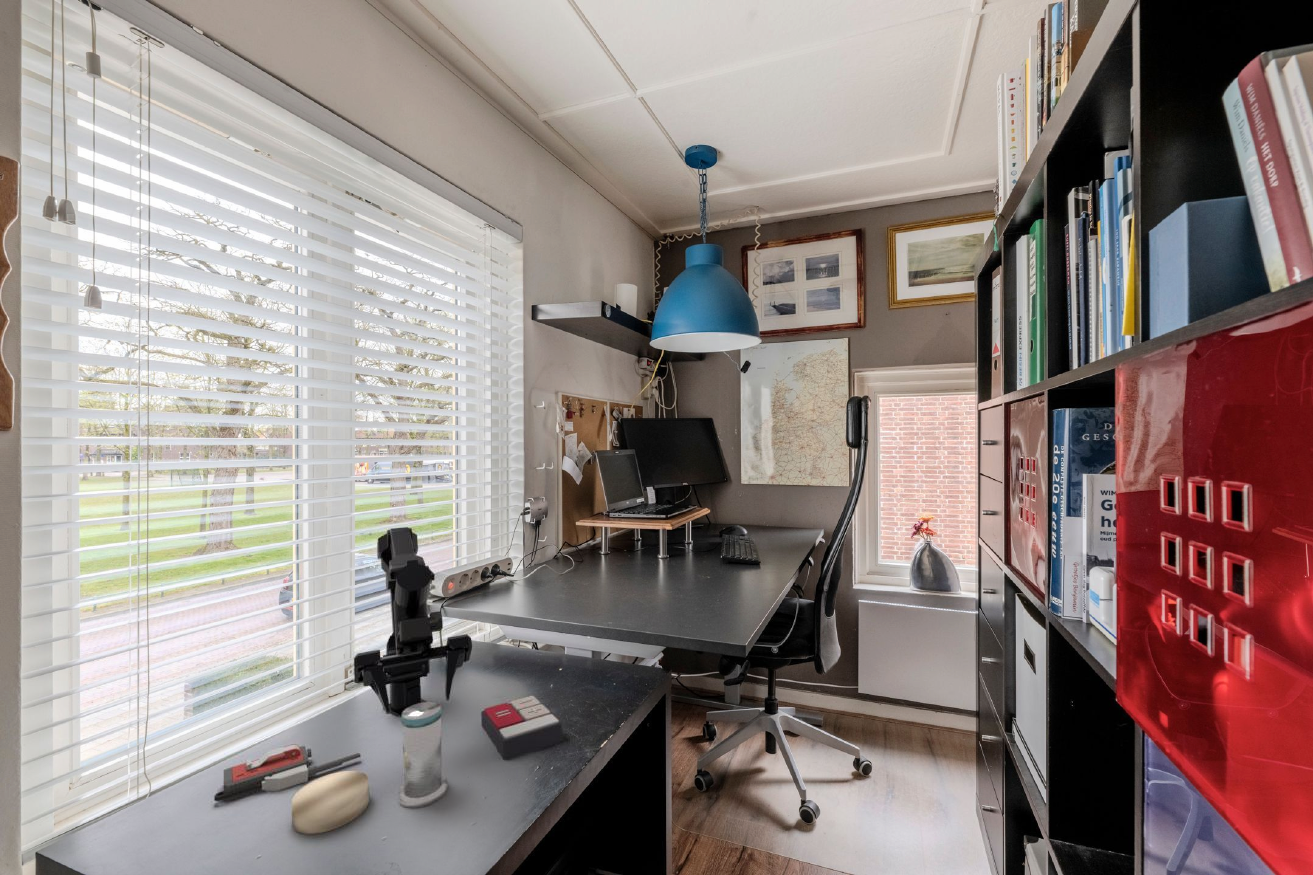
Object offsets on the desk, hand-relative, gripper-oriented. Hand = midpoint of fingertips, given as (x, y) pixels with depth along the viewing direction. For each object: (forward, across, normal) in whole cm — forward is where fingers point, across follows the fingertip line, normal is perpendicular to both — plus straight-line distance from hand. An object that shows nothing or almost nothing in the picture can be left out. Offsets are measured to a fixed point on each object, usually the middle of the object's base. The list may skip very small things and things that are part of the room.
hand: (418, 705), depth 92 cm
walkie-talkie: (0, -19, +17) cm, 26 cm away
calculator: (+5, +18, +12) cm, 23 cm away
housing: (+12, 0, +5) cm, 13 cm away
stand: (+10, -12, +6) cm, 17 cm away
